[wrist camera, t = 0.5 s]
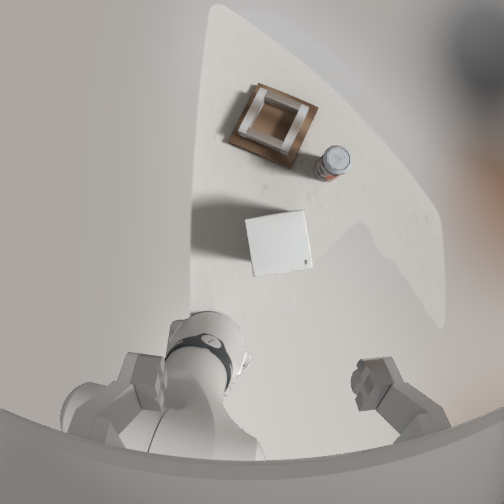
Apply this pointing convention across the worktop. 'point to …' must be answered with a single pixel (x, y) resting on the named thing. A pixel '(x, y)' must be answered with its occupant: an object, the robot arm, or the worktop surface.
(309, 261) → the supplement box
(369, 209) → the worktop surface
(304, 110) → the socket base
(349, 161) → the beer can
